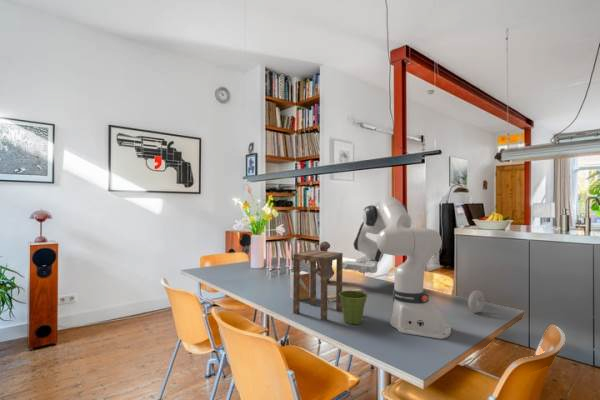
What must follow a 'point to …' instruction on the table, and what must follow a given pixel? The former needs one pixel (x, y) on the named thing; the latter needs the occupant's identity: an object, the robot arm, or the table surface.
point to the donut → (476, 301)
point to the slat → (333, 297)
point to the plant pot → (353, 306)
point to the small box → (301, 285)
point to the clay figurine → (324, 247)
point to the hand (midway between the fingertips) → (353, 269)
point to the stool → (313, 258)
